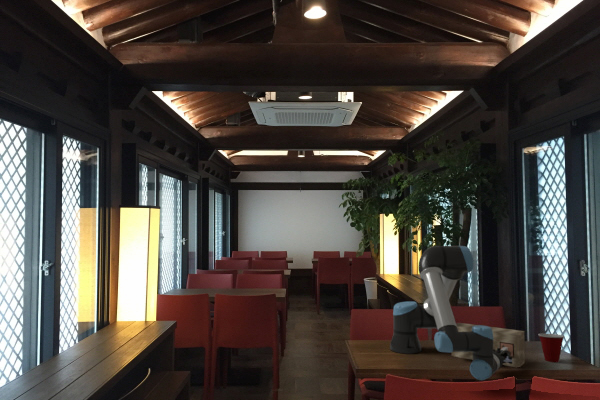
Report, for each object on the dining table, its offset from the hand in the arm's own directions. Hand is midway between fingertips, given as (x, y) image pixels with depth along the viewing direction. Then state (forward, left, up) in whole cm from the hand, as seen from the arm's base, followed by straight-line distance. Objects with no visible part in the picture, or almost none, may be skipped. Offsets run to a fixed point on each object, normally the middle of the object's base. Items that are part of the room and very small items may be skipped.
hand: (506, 350), depth 206 cm
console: (-10, +6, -7) cm, 14 cm away
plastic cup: (+14, +22, -7) cm, 27 cm away
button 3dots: (0, +5, -2) cm, 5 cm away
